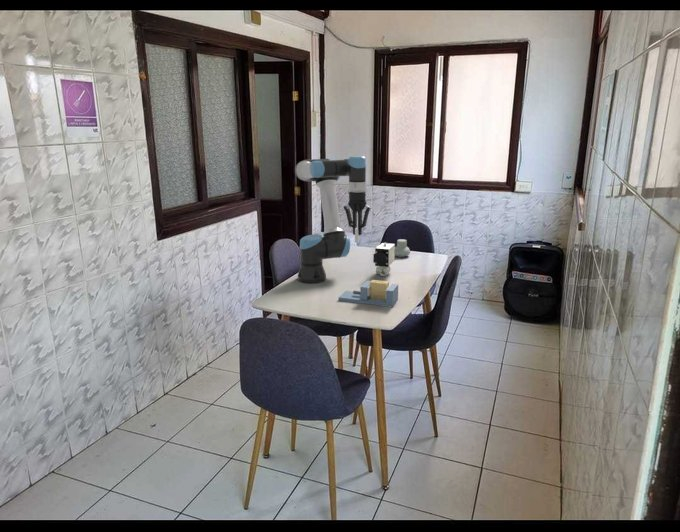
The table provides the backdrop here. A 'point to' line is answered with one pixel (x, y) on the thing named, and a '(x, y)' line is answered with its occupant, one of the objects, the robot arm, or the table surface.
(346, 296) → the vise
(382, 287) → the wooden block
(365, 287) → the free jaw
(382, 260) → the white pneumatic actuator
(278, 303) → the table surface
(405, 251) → the air freshener
